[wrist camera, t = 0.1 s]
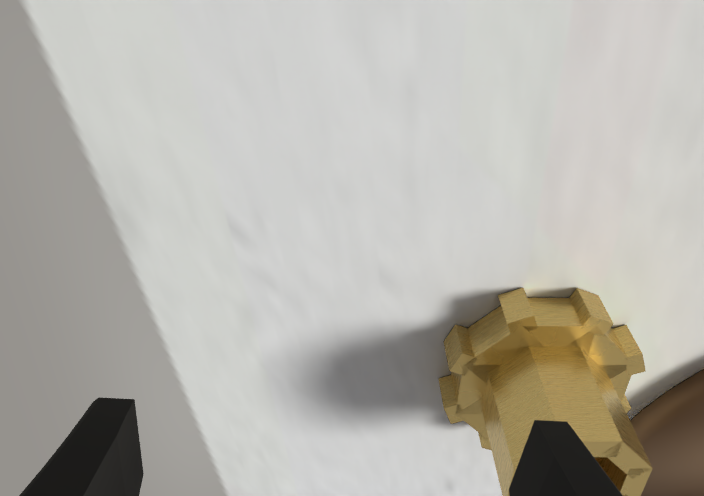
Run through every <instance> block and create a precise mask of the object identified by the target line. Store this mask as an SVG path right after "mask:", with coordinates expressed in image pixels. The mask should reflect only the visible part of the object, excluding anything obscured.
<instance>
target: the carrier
mask: <svg viewBox="0 0 704 496" xmlns="http://www.w3.org/2000/svg"><path fill="white" fill-rule="evenodd" d="M630 422H631V424H632V426H633V428H634V430H635V433H636V435H637V437H638V439H639V441H640V443H641V445H642V447H643V449H644V451H645V453H646V456H647V458H648V460H649V462H650V464H651V466H652V468H653V469H652V471H651V473H650V476H649V478H648V480H647V482H646V485H645V487H644V489H643V492H642V494H641V496H704V370H702V371H700V372H698V373H697V374H695V375H693V376H692V377H690V378H688V379H687V380H685V381H683V382H682V383H680V384H679V385H677V386H675V387H674V388H672V389H670V390H669V391H667V392H666V393H665V394H663V395H662V396H661V397H659V398H658V399H657V400H655V401H654V402H653V403H651V404H650V405H648V406H647V407H646V408H644V409H643V410H642V411H641V412H639V413H638V414H637V415H636V416H635V417H634V418H633V419H632V420H631V421H630Z"/></svg>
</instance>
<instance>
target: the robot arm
mask: <svg viewBox="0 0 704 496" xmlns="http://www.w3.org/2000/svg"><path fill="white" fill-rule="evenodd" d="M142 478H143V467H142V459H141V450H140V442H139V434H138V426H137V417H136V410H135V401H134V399H115V398H98V399H96V400H95V401H94V402H93V403H92V404H91V406H90V407H89V408H88V410H87V411H86V412H85V414H84V415H83V417H82V418H81V419H80V421H79V422H78V424H77V425H76V426H75V427H74V429H73V430H72V431H71V433H70V434H69V435H68V437H67V438H66V439H65V441H64V442H63V443H62V444H61V446H60V447H59V448H58V449H57V451H56V452H55V453H54V455H53V456H52V457H51V458H50V459H49V461H48V462H47V463H46V465H45V466H44V467H43V468H42V470H41V471H40V472H39V473H38V474H37V475H36V477H35V478H34V479H33V480H32V481H31V483H30V484H29V485H28V486H27V487H26V488H25V490H24V491H23V492H22V493H21V494H20V496H139V492H140V488H141V483H142ZM509 496H623V495H622V494H621V492H620V491H619V490H618V489H617V487H616V486H615V485H614V483H613V482H612V481H611V479H610V478H609V477H608V475H607V474H606V473H605V471H604V470H603V469H602V467H601V466H600V465H599V463H598V462H597V461H596V459H595V458H594V457H593V455H592V454H591V453H590V451H589V450H588V449H587V447H586V446H585V445H584V443H583V442H582V441H581V439H580V438H579V437H578V435H577V434H576V433H575V431H574V430H573V429H572V427H571V426H570V425H569V424H568V422H564V421H544V420H534V423H533V426H532V428H531V431H530V434H529V436H528V439H527V442H526V444H525V447H524V450H523V453H522V455H521V458H520V461H519V463H518V466H517V469H516V471H515V474H514V477H513V479H512V482H511V485H510V487H509Z"/></svg>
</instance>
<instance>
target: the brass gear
mask: <svg viewBox="0 0 704 496" xmlns="http://www.w3.org/2000/svg"><path fill="white" fill-rule="evenodd" d="M498 297H499V300H500V303H501V306H500V307H498V308H497V309H495V310H494V311H492V312H491V313H489V314H488V315H486V316H485V317H483V318H482V319H480V320H479V321H478V322H476V323H475V324H473V325H472V326H470V327H469V328H465V327H462V326H459V325H456V324H455V326H454V327H453V329H452V330H451V332H450V333H449V335H448V336H447V337H446V339H445V340H444V346H445V351H446V356H447V361H448V366H449V371H451V375H449V376H446V377H442V378H439V384H440V389H441V395H442V400H443V406H444V410H445V412H446V414H447V416H448V419H449V421H450V423H451V424H453V423H457V422H460V421H465V422H466V423H467V424H469V425H470V426H471V427H473V428H474V429H475V430H477V431H478V433H479V437H480V442H481V446H482V448H485V449H489V450H492V453H493V458H494V462H495V466H496V470H497V474H498V478H499V482H500V486H501V490H502V495H503V496H509V487H510V485H511V482H512V479H513V477H514V474H515V471H516V469H517V466H518V463H519V461H520V458H521V455H522V453H523V450H524V447H525V444H526V442H527V439H528V436H529V434H530V431H531V428H532V426H533V423H534V420H544V421H564V422H568V424H569V425H570V426H571V427H572V429H573V430H574V431H575V433H576V434H577V435H578V437H579V438H580V439H581V441H582V442H583V443H584V445H585V446H586V447H587V449H588V450H589V451H590V453H591V454H592V455H593V457H594V458H595V459H596V461H597V462H598V463H599V465H600V466H601V467H602V469H603V470H604V471H605V473H606V474H607V475H608V477H609V478H610V479H611V481H612V482H613V483H614V485H615V486H616V487H617V489H618V490H619V491H620V492H621V494H622V495H623V496H641V494H642V492H643V489H644V487H645V485H646V482H647V480H648V478H649V476H650V473H651V471H652V469H653V468H652V466H651V464H650V462H649V460H648V458H647V456H646V453H645V451H644V449H643V447H642V445H641V443H640V441H639V439H638V437H637V435H636V433H635V430H634V428H633V426H632V424H631V422H630V420H629V418H628V416H627V414H626V413H627V412H628V411H629V410H630V409H631V406H630V404H629V402H628V400H627V398H626V396H625V391H626V388H627V386H628V383H629V380H630V377H631V375H633V374H637V373H641V372H644V371H645V366H644V360H643V355H642V352H641V351H640V349H639V347H638V345H637V343H636V342H635V340H634V338H633V336H632V334H631V333H630V331H629V329H628V327H627V325H624V326H620V327H617V328H613V329H612V328H611V326H612V325H613V322H612V320H611V318H610V316H609V315H608V313H607V311H606V309H605V307H604V305H603V303H602V301H601V300H600V298H599V296H598V295H595V294H592V293H590V292H587V291H584V290H582V289H579V288H577V289H576V290H575V291H574V292H573V294H572V295H571V296H570V297H569V298H527V296H526V294H525V291H524V289H523V288H520V289H517V290H514V291H510V292H507V293H504V294H501V295H498Z"/></svg>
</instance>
